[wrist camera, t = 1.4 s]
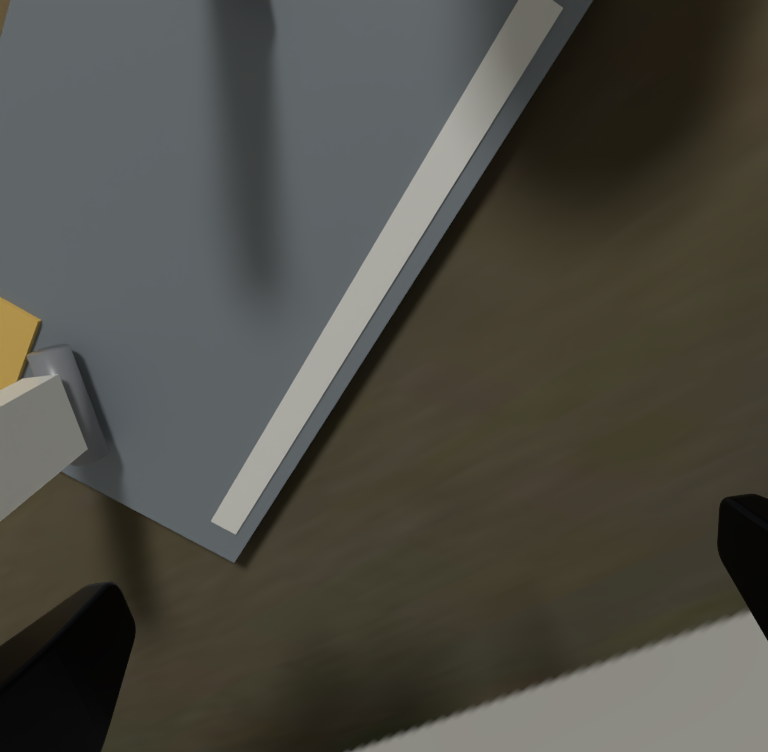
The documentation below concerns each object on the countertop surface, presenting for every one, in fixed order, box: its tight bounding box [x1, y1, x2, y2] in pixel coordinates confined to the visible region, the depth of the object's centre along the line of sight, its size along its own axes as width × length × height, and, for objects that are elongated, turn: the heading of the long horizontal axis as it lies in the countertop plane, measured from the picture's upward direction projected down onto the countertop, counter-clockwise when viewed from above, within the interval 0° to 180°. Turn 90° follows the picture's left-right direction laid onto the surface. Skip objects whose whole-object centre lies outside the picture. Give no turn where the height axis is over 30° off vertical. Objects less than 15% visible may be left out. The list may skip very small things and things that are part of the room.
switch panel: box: [0, 0, 593, 563], centre depth 19 cm, size 15×25×1 cm, turn 149°
